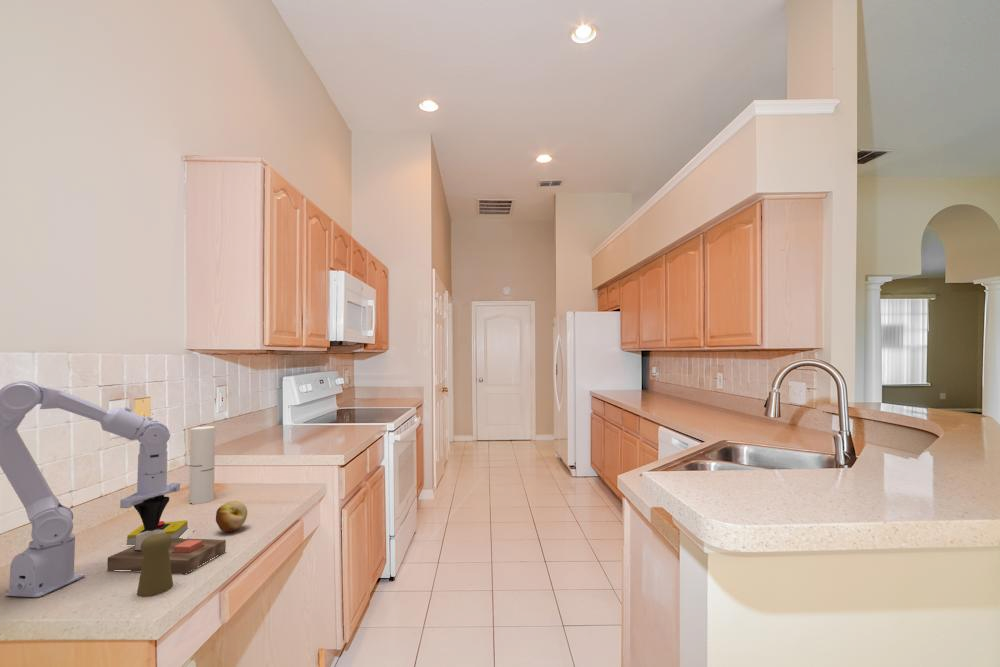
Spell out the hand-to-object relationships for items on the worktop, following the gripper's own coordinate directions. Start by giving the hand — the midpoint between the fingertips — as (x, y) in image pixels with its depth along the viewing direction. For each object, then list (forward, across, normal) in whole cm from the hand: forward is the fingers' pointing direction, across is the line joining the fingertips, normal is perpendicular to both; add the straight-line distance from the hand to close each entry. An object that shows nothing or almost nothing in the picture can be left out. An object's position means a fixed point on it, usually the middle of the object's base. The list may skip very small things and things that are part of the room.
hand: (151, 529), depth 111 cm
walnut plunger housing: (+7, 0, -5) cm, 9 cm away
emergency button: (+8, +14, +11) cm, 19 cm away
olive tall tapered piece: (+7, -13, -14) cm, 20 cm away
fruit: (+7, +20, -6) cm, 22 cm away
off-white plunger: (+4, 0, 0) cm, 4 cm away
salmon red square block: (+6, 0, -10) cm, 12 cm away
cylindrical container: (+7, +46, +25) cm, 53 cm away
